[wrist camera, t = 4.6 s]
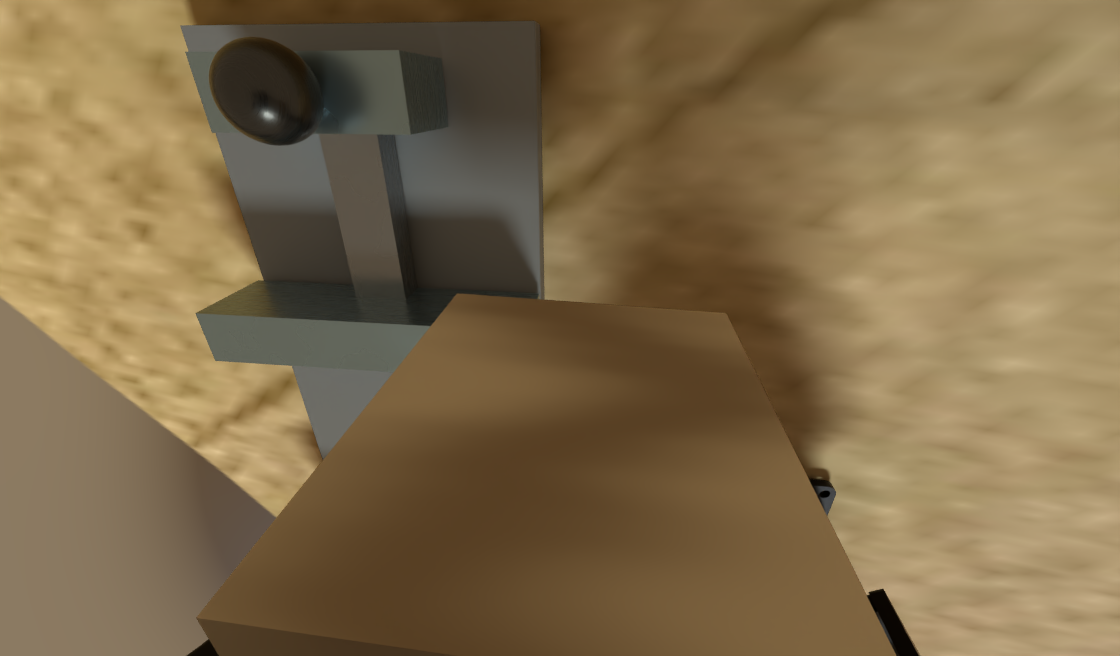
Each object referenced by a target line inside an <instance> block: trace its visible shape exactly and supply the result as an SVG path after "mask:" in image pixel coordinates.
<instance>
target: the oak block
mask: <svg viewBox="0 0 1120 656" xmlns="http://www.w3.org/2000/svg"><path fill="white" fill-rule="evenodd" d="M196 618H197V620H198V622H199V623H200V625H201V627H202V628H203V630H204V632H205V633H206V635H207V637H208V638H209V640H210V642H211V643H212V645H213V647H214V648H215V650H216V652H217V653H218V655H219V656H896V654H895V652H894V650H893V648H892V646H891V644H890V642H889V640H888V638H887V636H886V634H885V632H884V630H883V628H882V626H881V624H880V622H879V620H878V618H877V616H876V614H875V612H874V610H873V607H872V605H871V603H870V601H869V599H868V597H867V595H866V593H865V591H864V589H863V587H862V585H861V583H860V581H859V579H858V577H857V575H856V573H855V571H854V569H853V567H852V565H851V563H850V561H849V559H848V557H847V555H846V553H845V551H844V549H843V547H842V545H841V543H840V541H839V539H838V537H837V535H836V533H835V531H834V529H833V527H832V525H831V523H830V521H829V519H828V517H827V515H826V513H825V511H824V509H823V507H822V505H821V503H820V501H819V499H818V497H817V495H816V493H815V491H814V489H813V487H812V485H811V483H810V481H809V479H808V477H807V475H806V473H805V471H804V469H803V467H802V465H801V463H800V461H799V459H798V457H797V455H796V453H795V451H794V449H793V447H792V445H791V443H790V441H789V439H788V437H787V435H786V432H785V430H784V428H783V426H782V424H781V422H780V420H779V418H778V416H777V414H776V412H775V410H774V408H773V406H772V404H771V402H770V400H769V398H768V396H767V394H766V392H765V390H764V388H763V386H762V384H761V382H760V380H759V378H758V376H757V374H756V372H755V370H754V368H753V366H752V364H751V362H750V360H749V358H748V356H747V354H746V352H745V350H744V348H743V346H742V344H741V342H740V340H739V338H738V336H737V334H736V332H735V330H734V328H733V326H732V324H731V322H730V320H729V318H728V316H727V314H726V313H718V312H705V311H691V310H677V309H664V308H650V307H636V306H623V305H609V304H595V303H582V302H568V301H555V300H541V299H527V298H514V297H500V296H486V295H473V294H459V293H457V294H456V295H455V297H454V298H453V299H452V300H451V302H450V303H449V304H448V305H447V307H446V308H445V309H444V310H443V312H442V313H441V314H440V315H439V317H438V318H437V319H436V320H435V322H434V323H433V324H432V325H431V326H430V328H429V329H428V330H427V331H426V333H425V334H424V335H423V336H422V338H421V339H420V340H419V341H418V343H417V344H416V345H415V346H414V348H413V349H412V350H411V351H410V353H409V354H408V355H407V356H406V358H405V359H404V360H403V361H402V363H401V364H400V365H399V366H398V368H397V369H396V370H395V371H394V372H393V374H392V375H391V376H390V377H389V379H388V380H387V381H386V382H385V384H384V385H383V386H382V387H381V389H380V390H379V391H378V392H377V394H376V395H375V396H374V397H373V399H372V400H371V401H370V402H369V404H368V405H367V406H366V407H365V409H364V410H363V411H362V412H361V414H360V415H359V416H358V417H357V418H356V420H355V421H354V422H353V423H352V425H351V426H350V427H349V428H348V430H347V431H346V432H345V433H344V435H343V436H342V437H341V438H340V440H339V441H338V442H337V443H336V445H335V446H334V447H333V448H332V450H331V451H330V452H329V453H328V455H327V456H326V457H325V458H324V460H323V461H322V462H321V463H320V464H319V466H318V467H317V468H316V469H315V471H314V472H313V473H312V474H311V476H310V477H309V478H308V479H307V481H306V482H305V483H304V484H303V486H302V487H301V488H300V489H299V491H298V492H297V493H296V494H295V496H294V497H293V498H292V499H291V501H290V502H289V503H288V504H287V506H286V507H285V508H284V509H283V510H282V512H281V513H280V514H279V515H278V517H277V518H276V519H275V521H274V522H273V523H272V524H271V525H270V527H269V528H268V529H267V531H266V532H265V533H264V534H263V535H262V537H261V538H260V539H259V540H258V542H257V543H256V544H255V545H254V547H253V548H252V549H251V550H250V551H249V553H248V554H247V555H246V556H245V558H244V559H243V560H242V561H241V563H240V564H239V565H238V566H237V568H236V569H235V570H234V571H233V573H232V574H231V575H230V576H229V578H228V579H227V580H226V581H225V583H224V584H223V585H222V586H221V588H220V589H219V590H218V591H217V593H216V594H215V595H214V596H213V598H212V599H211V600H210V601H209V602H208V604H207V605H206V606H205V608H204V609H203V610H202V611H201V613H200V614H199V615H198V616H197V617H196Z"/></svg>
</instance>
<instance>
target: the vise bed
mask: <svg viewBox="0 0 1120 656" xmlns="http://www.w3.org/2000/svg"><path fill="white" fill-rule="evenodd" d="M181 29H182V32H183V35H184V38H185V41H186V45H187V48H188V51H189V52H216V51H219V50H220V48H221V47H223V46H224V45H225V44H227V43H229V42H231V41H233V40H235V39H239V38H243V37H261V38H266V39H270V40H273V41H276V42H278V43H280V44H282V45H284V46H286V47H288V48H289V49H291V50H292V51H356V50H400V51H406V52H411V53H416V54H421V55H426V56H431V57H436V58H442V68H443V77H444V87H445V96H446V106H447V115H448V125H449V127H446V128H441V129H437V130H432V131H427V132H422V133H417V134H412V135H394V140H395V146H396V152H397V159H398V165H399V171H400V178H401V184H402V190H403V197H404V203H405V209H406V216H407V222H408V228H409V235H410V241H411V247H412V254H413V260H414V266H415V273H416V279H417V285H418V288H434V289H456V290H478V291H499V292H521V293H539V299H541V300H544V248H543V185H542V122H541V58H540V25H539V24H538V23H537V22H536V21H486V22H412V23H337V24H262V25H187V26H181ZM216 136H217V139H218V142H219V145H220V148H221V151H222V154H223V157H224V160H225V163H226V166H227V169H228V172H229V176H230V179H231V182H232V185H233V188H234V191H235V194H236V197H237V200H238V203H239V206H240V209H241V212H242V215H243V218H244V221H245V224H246V227H247V230H248V233H249V236H250V239H251V243H252V246H253V249H254V252H255V255H256V258H257V261H258V264H259V267H260V270H261V273H262V276H263V279H264V281H282V282H304V283H325V284H347V285H353V281H352V277H351V273H350V268H349V264H348V260H347V255H346V251H345V247H344V242H343V238H342V234H341V229H340V225H339V221H338V216H337V212H336V207H335V203H334V199H333V194H332V190H331V186H330V181H329V177H328V173H327V168H326V164H325V160H324V155H323V151H322V147H321V142H320V138H319V134H312V135H311V136H310V137H308V138H307V139H305V140H304V141H302V142H299V143H296V144H293V145H286V146H275V145H269V144H264V143H261V142H258V141H256V140H253V139H251V138H249V137H247V136H246V135H244V134H243V133H216ZM292 367H293V370H294V374H295V377H296V380H297V383H298V386H299V389H300V392H301V395H302V398H303V401H304V404H305V407H306V410H307V413H308V416H309V419H310V422H311V425H312V428H313V431H314V434H315V438H316V441H317V444H318V447H319V450H320V453H321V456H322V459H323V460H324V458H325V457H326V456H327V455H328V453H329V452H330V451H331V450H332V448H333V447H334V446H335V445H336V443H337V442H338V441H339V440H340V438H341V437H342V436H343V435H344V433H345V432H346V431H347V430H348V428H349V427H350V426H351V425H352V423H353V422H354V421H355V420H356V418H357V417H358V416H359V415H360V414H361V412H362V411H363V410H364V409H365V407H366V406H367V405H368V404H369V402H370V401H371V400H372V399H373V397H374V396H375V395H376V394H377V392H378V391H379V390H380V389H381V387H382V386H383V385H384V384H385V382H386V381H387V380H388V379H389V377H390V376H391V375H392V374H393V372H381V371H366V370H350V369H335V368H320V367H305V366H292Z"/></svg>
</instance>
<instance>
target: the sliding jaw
mask: <svg viewBox="0 0 1120 656" xmlns="http://www.w3.org/2000/svg"><path fill="white" fill-rule="evenodd" d="M185 53H186V56H187V59H188V62H189V65H190V68H191V71H192V74H193V77H194V80H195V83H196V86H197V89H198V92H199V95H200V98H201V101H202V104H203V107H204V110H205V113H206V116H207V119H208V122H209V125H210V128H211V131H212V133H243V134H244V135H246V136H247V137H249V138H251V139H253V140H256V141H258V142H261V143H264V144H269V145H275V146H286V145H293V144H296V143H299V142H302V141H304V140H305V139H307V138H308V137H310V136H311V135H312V134H319V138H320V142H321V147H322V151H323V155H324V160H325V164H326V168H327V173H328V177H329V181H330V186H331V190H332V194H333V199H334V203H335V207H336V212H337V216H338V221H339V225H340V229H341V234H342V238H343V242H344V247H345V251H346V255H347V260H348V264H349V268H350V273H351V277H352V281H353V285H347V284H325V283H304V282H282V281H260V280H258V281H256V282H254V283H252V284H250V285H248V286H247V287H245V288H243V289H241V290H239V291H237V292H235V293H233V294H231V295H229V296H228V297H226V298H224V299H222V300H220V301H218V302H216V303H214V304H212V305H210V306H209V307H207V308H205V309H203V310H201V311H199V312H197V313H196V316H197V318H198V320H199V323H200V325H201V328H202V330H203V332H204V335H205V337H206V339H207V342H208V344H209V347H210V349H211V351H212V354H213V356H214V359H215V361H228V362H243V363H259V364H274V365H289V366H305V367H320V368H335V369H350V370H366V371H381V372H394V371H395V370H396V369H397V368H398V366H399V365H400V364H401V363H402V361H403V360H404V359H405V358H406V356H407V355H408V354H409V353H410V351H411V350H412V349H413V348H414V346H415V345H416V344H417V343H418V341H419V340H420V339H421V338H422V336H423V335H424V334H425V333H426V331H427V330H428V329H429V328H430V326H431V325H432V324H433V323H434V322H435V320H436V319H437V318H438V317H439V315H440V314H441V313H442V312H443V310H444V309H445V308H446V307H447V305H448V304H449V303H450V302H451V300H452V299H453V298H454V297H455V295H456V294H457V293H459V294H473V295H486V296H500V297H514V298H527V299H539V293H521V292H499V291H478V290H456V289H434V288H418V285H417V279H416V273H415V266H414V260H413V254H412V247H411V241H410V235H409V228H408V222H407V216H406V209H405V203H404V197H403V190H402V184H401V178H400V171H399V165H398V159H397V152H396V146H395V140H394V135H412V134H417V133H422V132H427V131H432V130H437V129H441V128H446V127H449V125H448V115H447V106H446V96H445V87H444V77H443V68H442V58H436V57H431V56H426V55H421V54H416V53H411V52H406V51H400V50H356V51H292V50H291V49H289V48H288V47H286V46H284V45H282V44H280V43H278V42H276V41H273V40H270V39H266V38H261V37H243V38H239V39H235V40H233V41H231V42H229V43H227V44H225V45H224V46H223V47H221V48H220V50H219V51H216V52H185Z"/></svg>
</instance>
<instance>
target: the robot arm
mask: <svg viewBox="0 0 1120 656" xmlns="http://www.w3.org/2000/svg"><path fill="white" fill-rule="evenodd" d="M809 481H810V483H811V485H812V487H813V489H814V491H815V493H816V495H817V497H818V499H819V501H820V503H821V505H822V507H823V509H824V511H825V513H826V515H828V513H829V510H830V508H831V505H832V503H833V500H834V498H835V495H836V491H835V489H834V488H833V486H832V484H831V483H830V482H828V481H825V480H813V479H809ZM869 594H870V595H867V597H868V599H869V601H870V603H871V605H872V607H873V610H874V612H875V614H876V616H877V618H878V620H879V622H880V624H881V626H882V628H883V630H884V632H885V634H886V636H887V638H888V640H889V642H890V644H891V646H892V648H893V650H894V652H895V654H896V656H920V654H919V652H918V650H917V649H916V647H915V645H914V643H913V641H912V640H911V638H910V636H909V634H908V632H907V631H906V629H905V627H904V625H903V623H902V622H901V620H900V618H899V616H898V614H897V613H896V611H895V609H894V607H893V605H892V604H891V602H890V600H889V598H888V596H887V595H886V593H885V591H884V589H879V590H875V591H871V592H869ZM187 656H219V655H218V653H217V652H216V650H215V648H214V647H213V645H212V643H211V642H210V640H209V639H208V640H207V641H206V642H204V643H203V644H202V645H201V646H199V647H198V648H196V649H195V650H194V651H192V652H191V653H189V654H188V655H187Z"/></svg>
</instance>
